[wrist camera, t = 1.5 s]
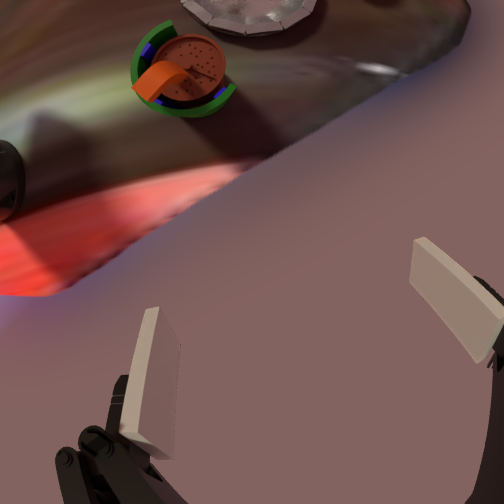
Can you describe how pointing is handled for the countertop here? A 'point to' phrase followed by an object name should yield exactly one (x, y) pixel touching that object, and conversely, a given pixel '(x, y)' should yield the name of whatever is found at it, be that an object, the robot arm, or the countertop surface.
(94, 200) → the countertop surface
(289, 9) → the tray
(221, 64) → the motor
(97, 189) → the countertop surface
